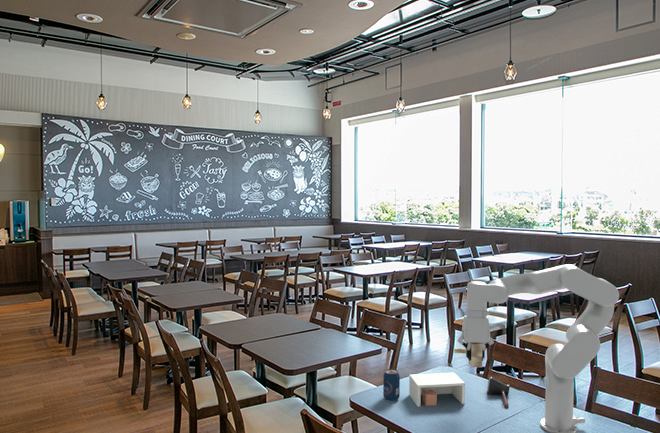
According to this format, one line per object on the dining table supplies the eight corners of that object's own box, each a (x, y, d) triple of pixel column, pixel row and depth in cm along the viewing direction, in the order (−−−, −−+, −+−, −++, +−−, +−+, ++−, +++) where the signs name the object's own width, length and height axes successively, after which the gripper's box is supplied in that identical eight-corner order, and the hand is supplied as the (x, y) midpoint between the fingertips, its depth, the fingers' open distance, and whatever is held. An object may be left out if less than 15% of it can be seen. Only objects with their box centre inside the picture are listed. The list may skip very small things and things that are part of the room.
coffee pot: (487, 387, 218) (506, 393, 215) (486, 409, 201) (507, 415, 198) (489, 372, 216) (509, 377, 213) (489, 393, 199) (511, 399, 197)
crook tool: (471, 352, 203) (471, 331, 202) (482, 367, 186) (482, 344, 185) (454, 351, 203) (454, 330, 203) (463, 366, 186) (463, 343, 186)
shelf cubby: (453, 392, 213) (454, 372, 213) (464, 404, 202) (465, 383, 201) (409, 394, 211) (409, 374, 210) (417, 406, 199) (417, 385, 198)
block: (433, 400, 205) (433, 390, 205) (436, 405, 201) (436, 394, 201) (422, 401, 205) (423, 390, 204) (426, 405, 200) (426, 395, 200)
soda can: (379, 398, 207) (380, 371, 206) (390, 394, 212) (390, 367, 211) (392, 403, 202) (392, 375, 201) (402, 399, 206) (403, 371, 206)
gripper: (495, 311, 191) (494, 356, 191) (452, 310, 191) (451, 355, 192) (501, 316, 183) (499, 363, 184) (456, 315, 184) (455, 362, 185)
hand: (475, 359), depth 188 cm, fingers closed on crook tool, 4 cm apart
